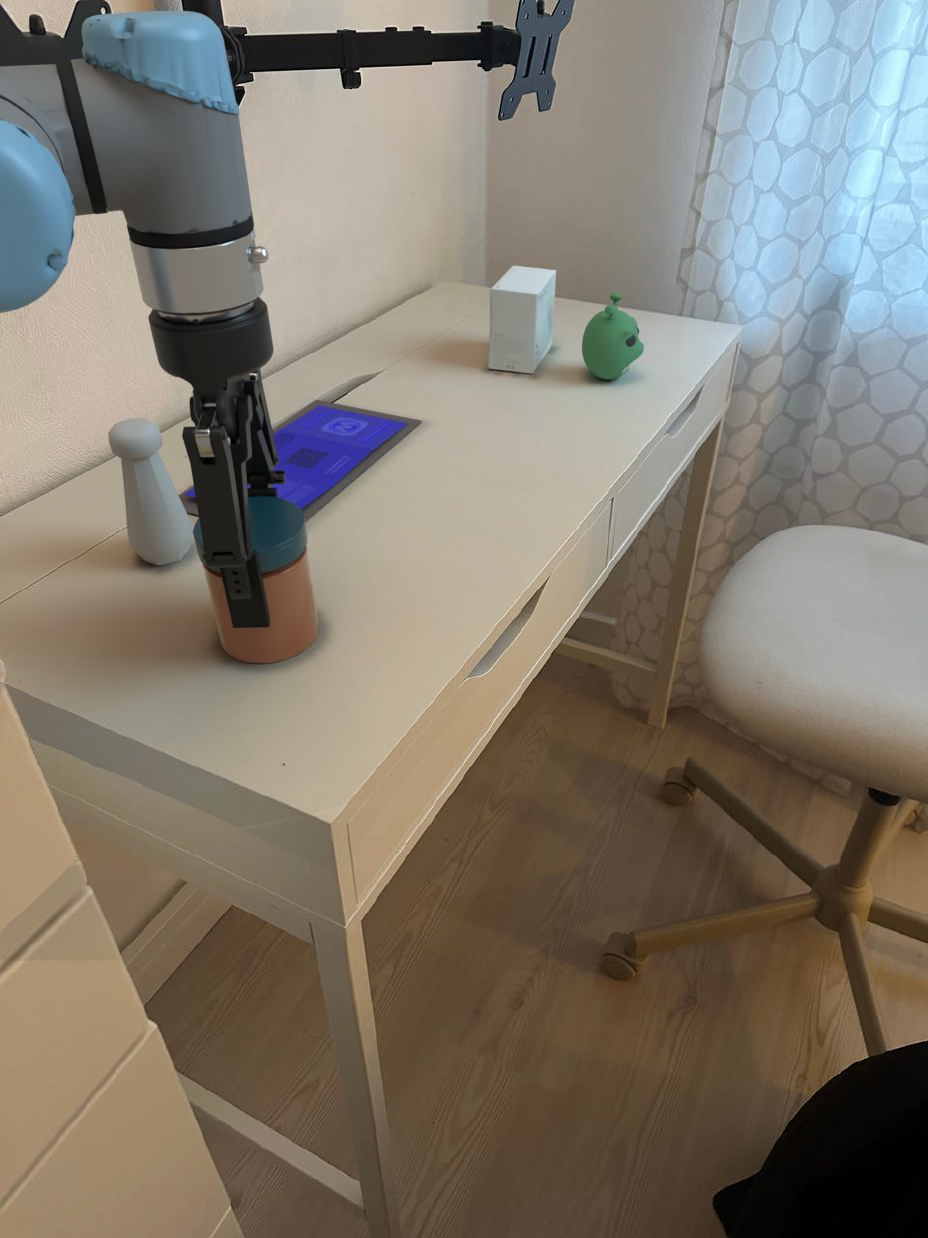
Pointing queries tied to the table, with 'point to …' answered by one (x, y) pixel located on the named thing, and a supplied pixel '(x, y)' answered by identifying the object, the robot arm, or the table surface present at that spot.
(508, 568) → the table surface
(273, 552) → the jar lid
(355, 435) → the booklet
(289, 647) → the jar
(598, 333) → the alien toy
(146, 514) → the salt shaker
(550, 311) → the cosmetics box
